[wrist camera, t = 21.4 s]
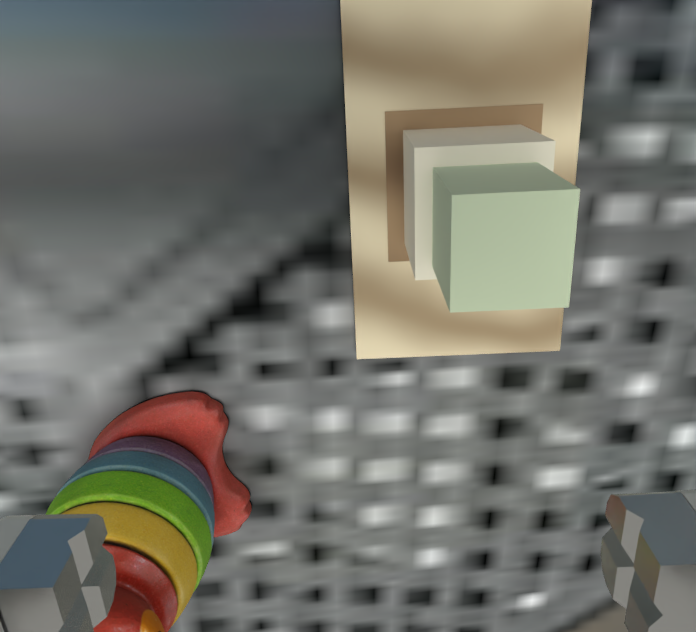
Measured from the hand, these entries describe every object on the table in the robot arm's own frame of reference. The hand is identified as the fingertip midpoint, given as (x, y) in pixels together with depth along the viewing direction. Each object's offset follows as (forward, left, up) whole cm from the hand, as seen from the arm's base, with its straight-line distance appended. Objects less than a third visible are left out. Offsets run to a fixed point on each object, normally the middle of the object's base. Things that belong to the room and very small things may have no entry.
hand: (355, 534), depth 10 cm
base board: (0, +6, -27) cm, 28 cm away
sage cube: (0, +6, -20) cm, 21 cm away
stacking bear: (+18, -13, -27) cm, 35 cm away
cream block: (0, +6, -26) cm, 26 cm away
